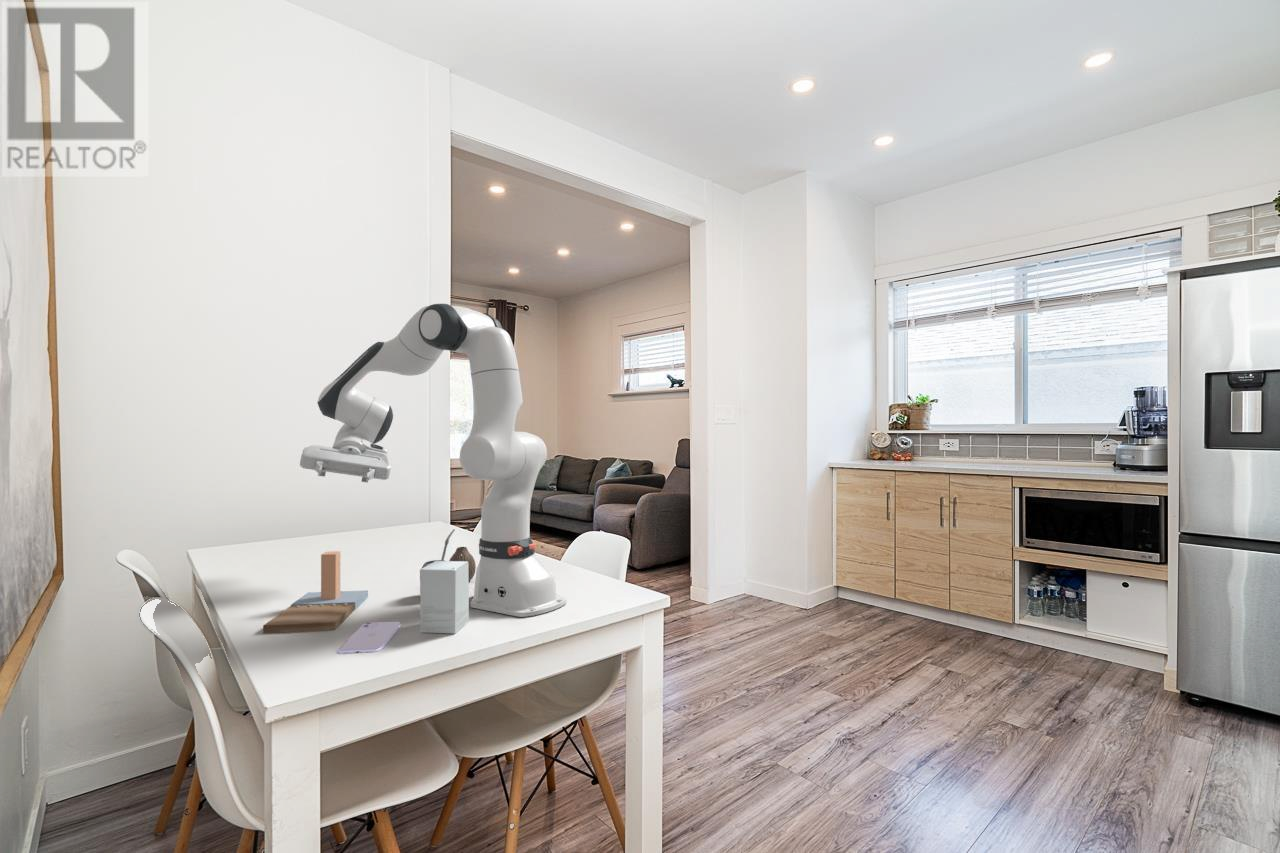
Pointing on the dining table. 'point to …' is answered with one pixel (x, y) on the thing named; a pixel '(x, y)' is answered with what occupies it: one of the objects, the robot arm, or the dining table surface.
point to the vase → (465, 559)
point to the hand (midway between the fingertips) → (343, 476)
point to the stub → (331, 586)
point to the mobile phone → (370, 637)
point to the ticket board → (309, 618)
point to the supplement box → (444, 596)
